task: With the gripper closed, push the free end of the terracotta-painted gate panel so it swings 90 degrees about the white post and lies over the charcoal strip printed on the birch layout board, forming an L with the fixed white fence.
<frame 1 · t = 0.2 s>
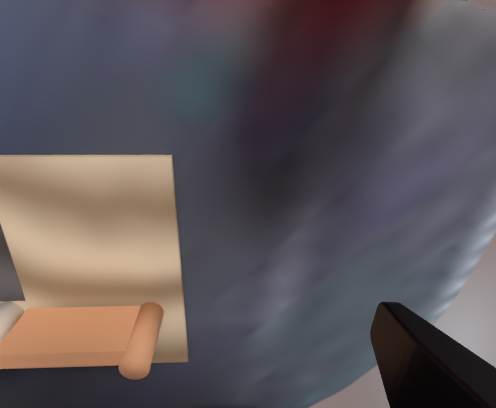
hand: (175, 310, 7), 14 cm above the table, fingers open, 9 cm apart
gate panel: (84, 339, 22), point 3 cm above the table, hinge at 0.0°
fence fixed: (13, 308, 25), resting on layout card
layout card: (9, 274, 23), on the table
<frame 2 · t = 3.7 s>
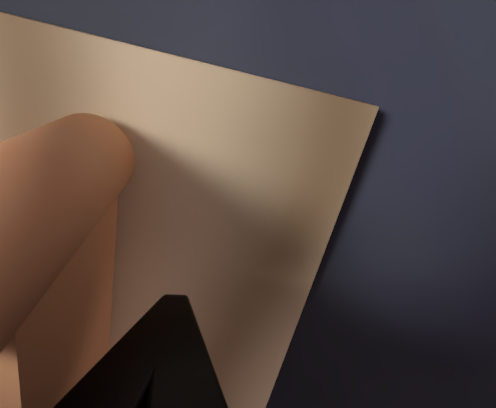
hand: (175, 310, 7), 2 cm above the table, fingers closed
gate panel: (39, 385, 6), point 3 cm above the table, hinge at 1.5°, touching gripper
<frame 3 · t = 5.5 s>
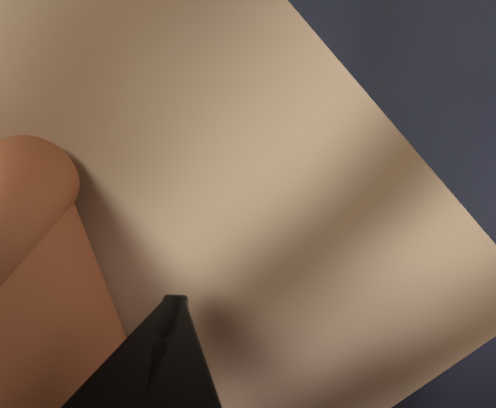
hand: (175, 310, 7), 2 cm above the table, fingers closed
gate panel: (53, 406, 6), point 3 cm above the table, hinge at 50.6°, touching gripper
layout card: (88, 392, 11), on the table
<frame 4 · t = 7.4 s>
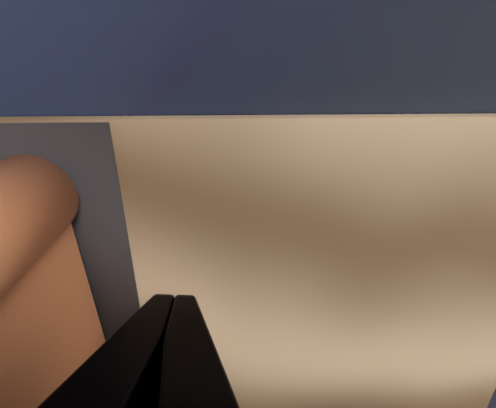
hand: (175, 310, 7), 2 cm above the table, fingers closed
layout card: (132, 388, 11), on the table
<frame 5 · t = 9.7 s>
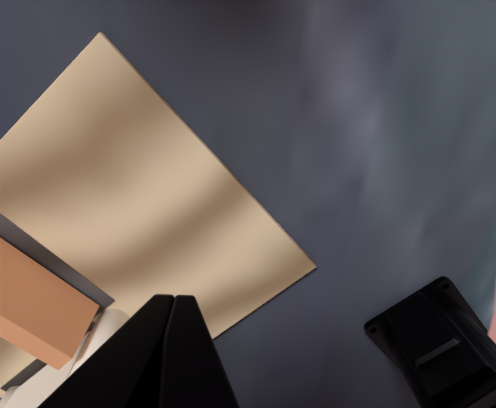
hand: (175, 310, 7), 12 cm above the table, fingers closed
gate panel: (1, 292, 17), point 3 cm above the table, hinge at 92.3°
fence fixed: (116, 316, 22), resting on layout card
layout card: (84, 284, 21), on the table
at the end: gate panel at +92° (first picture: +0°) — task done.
